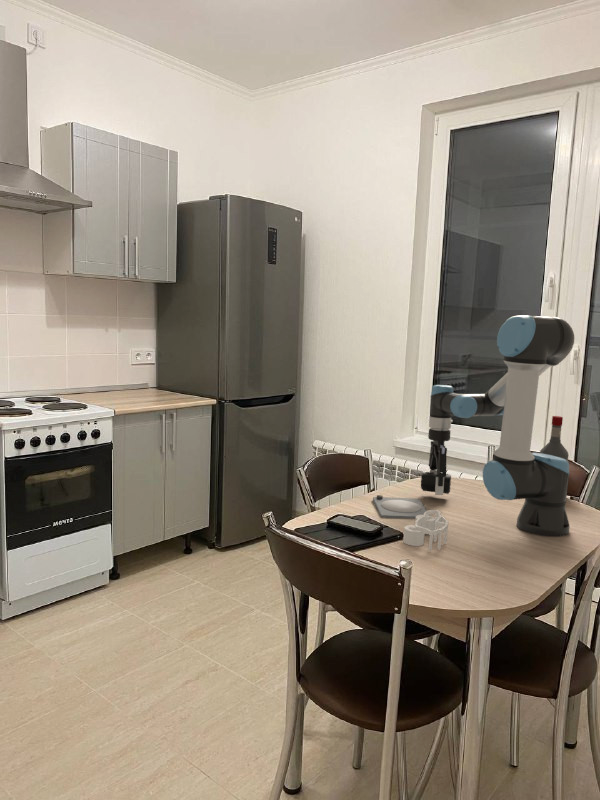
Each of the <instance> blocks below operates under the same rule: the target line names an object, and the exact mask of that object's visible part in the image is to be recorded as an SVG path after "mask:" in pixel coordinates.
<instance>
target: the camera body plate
mask: <svg viewBox="0 0 600 800" xmlns="http://www.w3.org/2000/svg"><path fill="white" fill-rule="evenodd" d="M372 502H373V504H374V506H375V508H376V510H377V512H378V514H379V516H380V518H382V519H408V520H409V519H411V520H413V519H414V520H416V516H417V515H424V513H425V512H426V511H428V509H427V508H426V507H425V506H424V504H423V502H422V500H420V499H419V498H411V497H388V496H387V497H385V496H383V495H381V494H377V495H376V496H372ZM429 516H432V514H429Z"/></svg>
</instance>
